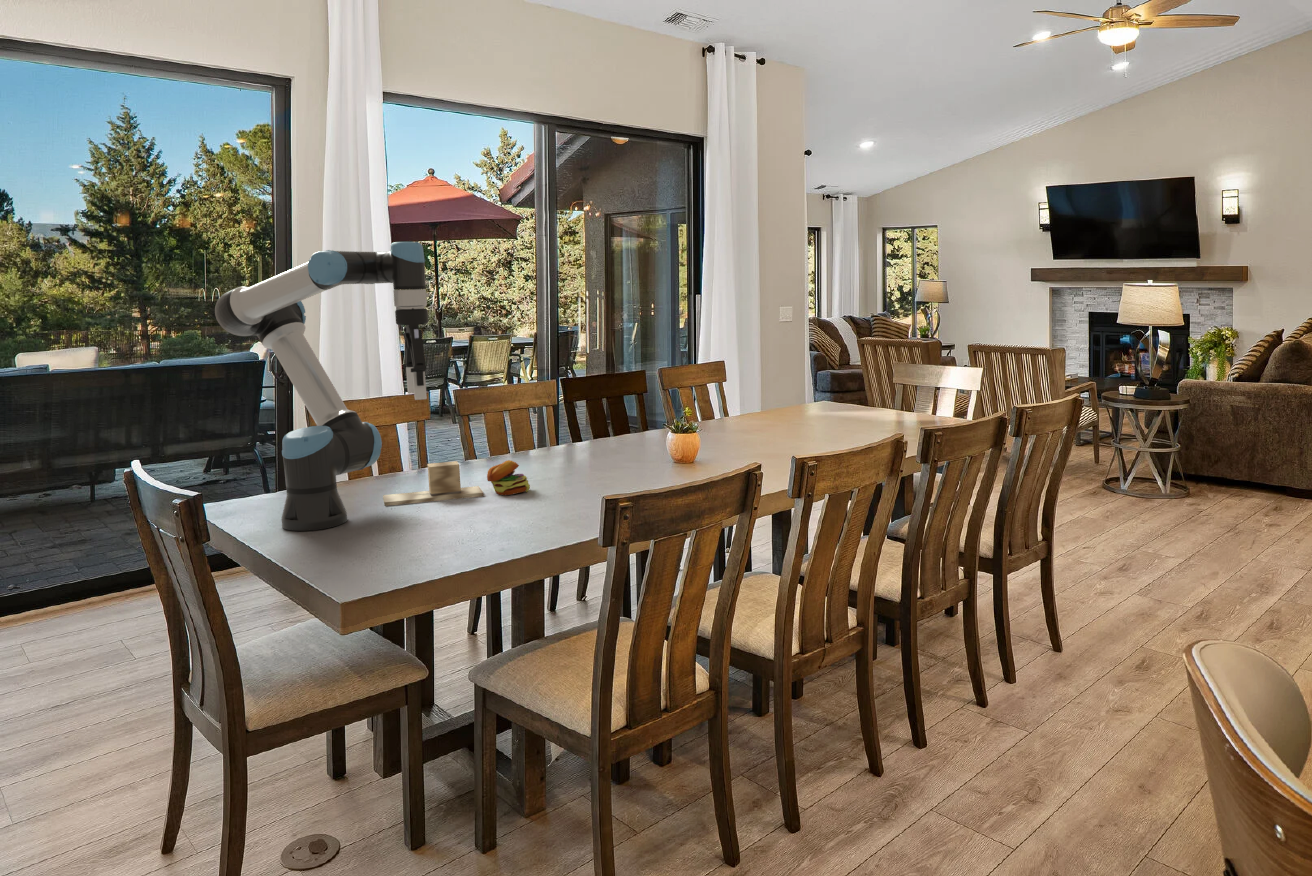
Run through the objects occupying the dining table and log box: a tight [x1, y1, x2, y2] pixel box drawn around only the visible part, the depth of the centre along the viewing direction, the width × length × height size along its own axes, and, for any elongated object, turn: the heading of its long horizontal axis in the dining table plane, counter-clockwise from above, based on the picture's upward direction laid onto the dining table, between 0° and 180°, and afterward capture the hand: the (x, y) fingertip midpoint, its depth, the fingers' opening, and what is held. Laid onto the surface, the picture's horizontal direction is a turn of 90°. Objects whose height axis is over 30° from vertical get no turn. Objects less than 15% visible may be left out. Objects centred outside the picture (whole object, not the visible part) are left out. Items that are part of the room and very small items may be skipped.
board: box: [382, 485, 485, 507], centre depth 251 cm, size 26×9×1 cm, turn 108°
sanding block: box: [427, 460, 462, 496], centre depth 251 cm, size 8×5×8 cm, turn 108°
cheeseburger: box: [486, 459, 531, 496], centre depth 254 cm, size 10×11×10 cm
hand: (417, 396), depth 223 cm, fingers open, 13 cm apart
